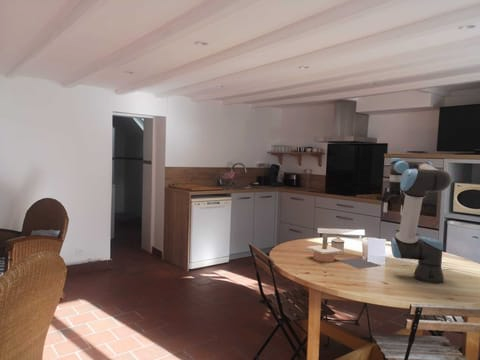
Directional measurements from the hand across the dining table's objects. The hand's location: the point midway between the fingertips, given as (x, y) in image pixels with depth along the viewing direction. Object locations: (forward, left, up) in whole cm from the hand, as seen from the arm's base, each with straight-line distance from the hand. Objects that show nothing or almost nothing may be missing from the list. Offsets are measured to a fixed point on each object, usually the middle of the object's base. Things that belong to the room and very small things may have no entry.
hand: (393, 213), depth 240 cm
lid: (+17, +42, -25) cm, 52 cm away
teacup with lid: (+29, +22, -32) cm, 48 cm away
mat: (+2, +26, -32) cm, 41 cm away
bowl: (+17, +42, -32) cm, 55 cm away
